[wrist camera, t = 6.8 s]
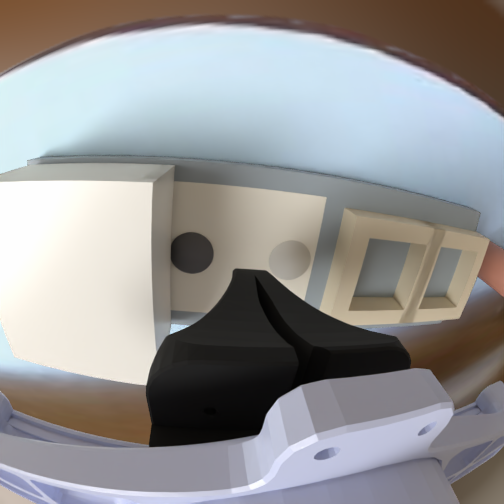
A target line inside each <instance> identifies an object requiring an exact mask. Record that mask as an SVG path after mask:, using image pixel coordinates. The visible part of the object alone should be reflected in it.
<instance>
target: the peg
mask: <svg viewBox="0 0 504 504" xmlns="http://www.w3.org/2000/svg"><path fill="white" fill-rule="evenodd" d="M477 277H479V278H480V279H481V280H483V281H484V282H485V283H487V284H488V285H489V286H490V287H492V288H493V289H494V290H496V291H497V292H498V293H499V294H501V295H502V296H503V297H504V249H503V248H501V247H499V246H498V245H496V244H494V243H493V242H491V241H489V244H488V247H487V250H486V253H485V256H484V259H483V262H482V265H481V268H480V270H479V273H478V276H477Z"/></svg>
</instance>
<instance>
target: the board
mask: <svg viewBox="0 0 504 504" xmlns="http://www.w3.org/2000/svg"><path fill="white" fill-rule="evenodd" d="M60 163H136V164H162V165H175V173H174V187H173V204H172V226H171V268H170V295H171V324H180V325H192V324H194V323H196V322H197V321H199V320H200V319H201V318H202V317H204V316H205V315H206V314H207V313H208V312H209V311H210V310H211V309H212V308H213V307H214V306H215V305H216V304H217V303H218V301H219V300H220V299H221V297H222V296H223V294H224V293H225V291H226V290H227V288H228V286H229V284H230V282H231V279H232V272H233V270H234V269H235V268H240V269H254V270H266V271H268V272H269V273H270V274H271V275H273V276H274V277H275V278H276V279H277V280H278V281H279V282H281V283H282V284H283V285H284V286H285V287H287V288H288V289H289V290H290V291H291V292H293V293H294V294H295V295H297V296H298V297H299V298H301V299H302V300H304V301H305V302H307V303H308V304H310V305H311V306H313V307H315V308H316V309H318V310H320V311H322V312H323V313H325V314H327V315H329V316H331V317H333V318H336V319H338V320H340V321H343V322H345V323H347V324H350V325H353V326H356V327H359V328H383V327H400V326H414V325H426V324H437V323H441V321H442V320H449V319H459V318H460V316H461V314H462V311H463V309H464V307H465V305H466V303H467V300H468V298H469V296H470V293H471V291H472V288H473V286H474V283H475V281H476V278H477V276H478V273H479V270H480V268H481V265H482V262H483V259H484V256H485V253H486V250H487V247H488V244H489V241H490V239H488V238H486V237H485V236H483V235H481V234H479V233H477V232H475V231H476V228H477V224H478V221H479V217H480V212H478V211H476V210H473V209H471V208H469V207H465V206H462V205H458V204H455V203H451V202H448V201H444V200H441V199H437V198H433V197H429V196H425V195H421V194H417V193H413V192H409V191H405V190H401V189H396V188H392V187H388V186H383V185H378V184H374V183H369V182H364V181H359V180H354V179H348V178H343V177H337V176H332V175H326V174H320V173H314V172H308V171H301V170H294V169H287V168H280V167H273V166H265V165H256V164H248V163H238V162H228V161H217V160H205V159H192V158H176V157H155V156H59V157H40V158H35V159H31V160H27V166H28V165H37V164H60Z"/></svg>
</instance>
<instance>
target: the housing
mask: <svg viewBox="0 0 504 504" xmlns="http://www.w3.org/2000/svg"><path fill="white" fill-rule="evenodd" d="M174 173H175V165H162V164H136V163H60V164H37V165H28V166H24V167H21V168H18V169H14V170H11V171H8V172H5V173H2V174H0V321H1V324H2V327H3V329H4V332H5V335H6V337H7V340H8V342H9V345H10V347H11V350H12V352H13V354H14V357H16V358H19V359H22V360H26V361H29V362H33V363H36V364H40V365H43V366H47V367H51V368H55V369H59V370H63V371H68V372H72V373H77V374H81V375H86V376H91V377H96V378H102V379H107V380H113V381H119V382H126V383H133V384H140V385H146V384H147V380H148V375H149V371H150V368H151V365H152V362H153V360H154V357H155V355H156V353H157V351H158V349H159V347H160V346H161V344H162V342H163V340H164V339H165V337H166V336H167V335H169V334H170V328H171V295H170V268H171V226H172V204H173V187H174Z"/></svg>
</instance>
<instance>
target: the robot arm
mask: <svg viewBox="0 0 504 504" xmlns="http://www.w3.org/2000/svg"><path fill="white" fill-rule="evenodd" d="M410 365H411V359H410V355H409V353H408V352H407V351H406V349H405V348H404V347H403V345H402V344H401V343H400V341H399V340H398V338H397V337H395V336H390V335H386V334H381V333H377V332H372V331H368V330H365V329H362V328H359V327H356V326H353V325H350V324H347V323H345V322H343V321H340V320H338V319H336V318H333V317H331V316H329V315H327V314H325V313H323V312H322V311H320V310H318V309H316V308H315V307H313V306H311V305H310V304H308V303H307V302H305V301H304V300H302V299H301V298H299V297H298V296H297V295H295V294H294V293H293V292H291V291H290V290H289V289H288V288H287V287H285V286H284V285H283V284H282V283H281V282H279V281H278V280H277V279H276V278H275V277H274V276H273V275H271V274H270V273H269V272H268V271H266V270H254V269H240V268H235V269H234V270H233V272H232V279H231V282H230V284H229V286H228V288H227V290H226V291H225V293H224V294H223V296H222V297H221V299H220V300H219V301H218V303H217V304H216V305H215V306H214V307H213V308H212V309H211V310H210V311H209V312H208V313H207V314H206V315H205V316H204V317H202V318H201V319H200V320H199V321H197V322H196V323H194V324H192V325H191V326H189V327H187V328H185V329H183V330H180V331H178V332H175V333H173V334H170V335H167V336H166V337H165V339H164V340H163V342H162V344H161V346H160V347H159V349H158V351H157V353H156V355H155V357H154V360H153V362H152V365H151V368H150V371H149V375H148V380H147V384H146V397H147V403H148V408H149V412H150V417H151V422H152V427H151V434H150V441H149V445H143V444H137V443H131V442H125V441H119V440H114V439H109V438H104V437H100V436H95V435H91V434H87V433H83V432H79V431H75V430H72V429H68V428H65V427H61V426H58V425H55V424H52V423H48V422H45V421H42V420H39V419H37V418H34V417H31V416H28V415H26V414H23V413H20V412H18V411H15V410H13V408H12V406H11V404H10V402H9V401H8V399H7V398H6V396H5V395H4V394H3V393H1V392H0V485H1V486H3V487H5V488H7V489H8V490H11V491H12V492H14V493H16V494H18V495H20V496H22V497H24V498H26V499H28V500H30V501H32V502H34V503H36V504H460V503H459V501H458V499H457V497H456V495H455V493H454V491H453V489H452V487H451V485H450V484H452V483H453V482H455V481H457V480H458V479H460V478H461V477H463V476H464V475H466V474H467V473H469V472H471V471H472V470H473V469H475V468H477V467H478V466H480V465H481V464H482V463H484V462H485V461H487V460H488V459H490V458H491V457H493V456H494V455H495V454H496V453H497V452H498V451H499V450H500V449H501V448H502V447H503V446H504V383H503V382H502V381H498V382H496V383H494V384H492V385H489V386H488V387H486V388H485V389H484V390H483V391H482V392H481V393H480V395H479V396H478V398H477V399H476V401H475V402H474V403H472V404H469V405H467V406H464V407H462V408H460V409H457V410H455V408H454V404H453V401H452V400H451V398H450V397H449V395H448V394H447V393H446V391H445V390H444V388H443V387H442V386H441V384H440V383H439V381H438V380H437V379H436V377H435V376H434V375H433V373H432V372H431V371H430V369H420V368H414V369H410Z"/></svg>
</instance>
